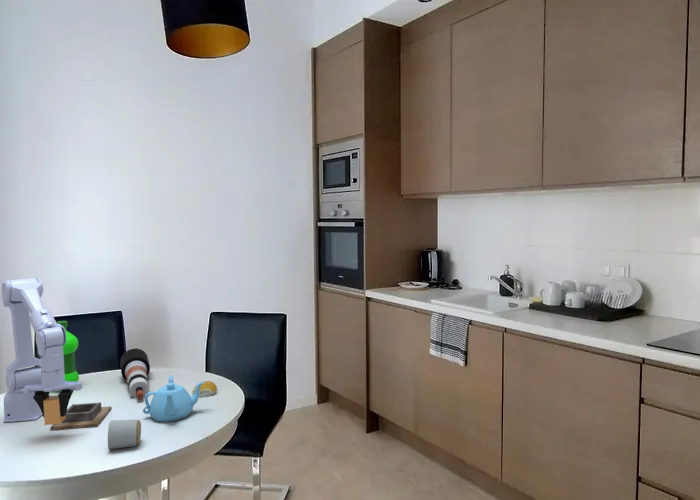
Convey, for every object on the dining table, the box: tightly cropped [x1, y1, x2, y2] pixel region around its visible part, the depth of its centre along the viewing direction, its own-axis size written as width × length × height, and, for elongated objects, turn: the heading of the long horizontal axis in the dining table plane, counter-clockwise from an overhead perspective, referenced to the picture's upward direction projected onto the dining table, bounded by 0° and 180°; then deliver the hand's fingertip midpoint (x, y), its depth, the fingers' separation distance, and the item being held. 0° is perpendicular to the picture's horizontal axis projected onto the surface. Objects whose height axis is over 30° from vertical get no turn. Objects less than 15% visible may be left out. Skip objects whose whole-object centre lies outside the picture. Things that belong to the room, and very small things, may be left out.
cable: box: [119, 348, 151, 400], centre depth 184 cm, size 10×34×10 cm, turn 26°
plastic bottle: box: [56, 320, 80, 382], centre depth 184 cm, size 10×10×25 cm
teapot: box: [142, 375, 206, 423], centre depth 158 cm, size 15×15×10 cm
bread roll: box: [192, 380, 218, 398], centre depth 178 cm, size 8×9×4 cm
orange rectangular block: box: [43, 394, 66, 426], centre depth 143 cm, size 4×4×7 cm
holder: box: [49, 402, 112, 431], centre depth 156 cm, size 13×14×4 cm
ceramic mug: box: [107, 418, 142, 450], centre depth 138 cm, size 10×8×7 cm
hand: (55, 415), depth 143 cm, fingers closed on orange rectangular block, 4 cm apart
